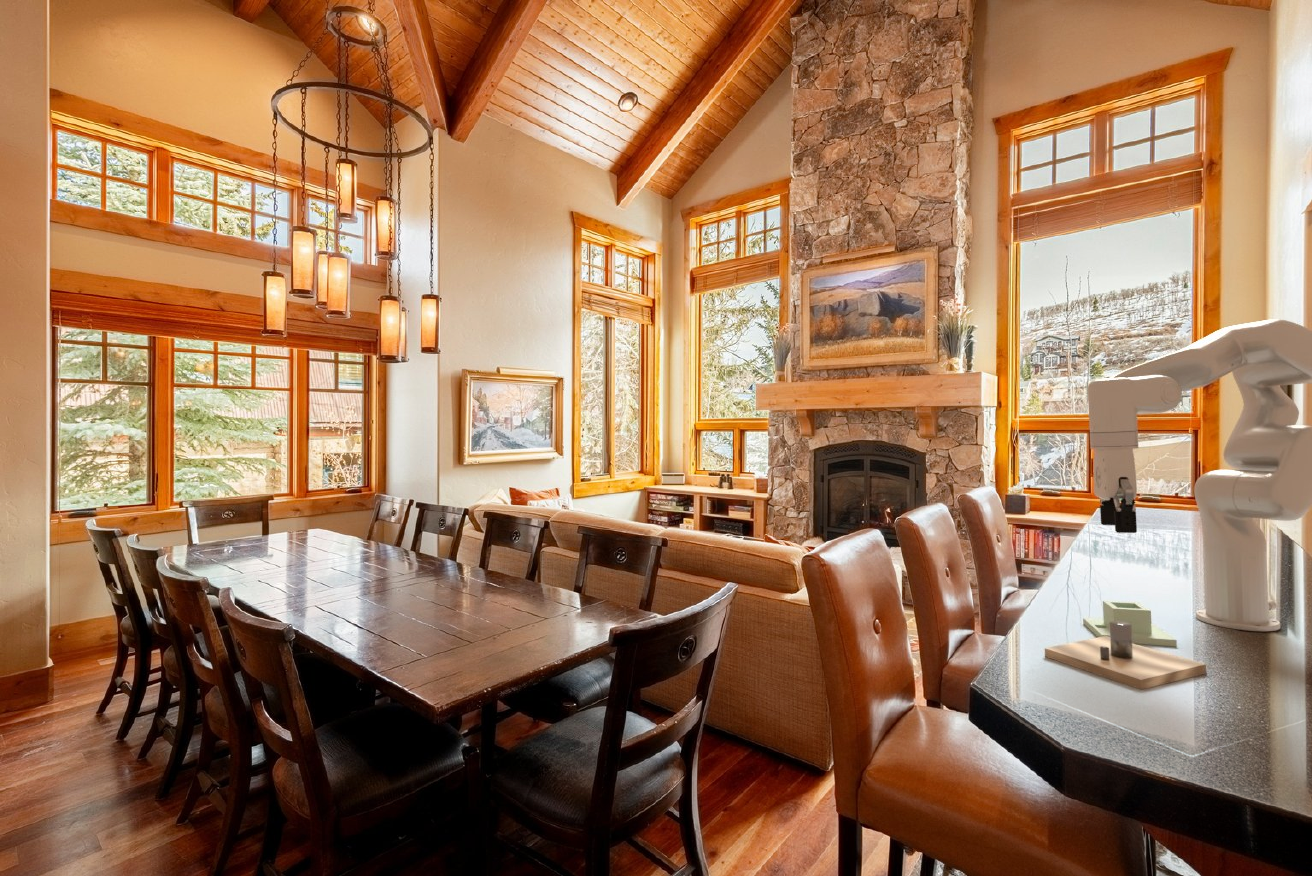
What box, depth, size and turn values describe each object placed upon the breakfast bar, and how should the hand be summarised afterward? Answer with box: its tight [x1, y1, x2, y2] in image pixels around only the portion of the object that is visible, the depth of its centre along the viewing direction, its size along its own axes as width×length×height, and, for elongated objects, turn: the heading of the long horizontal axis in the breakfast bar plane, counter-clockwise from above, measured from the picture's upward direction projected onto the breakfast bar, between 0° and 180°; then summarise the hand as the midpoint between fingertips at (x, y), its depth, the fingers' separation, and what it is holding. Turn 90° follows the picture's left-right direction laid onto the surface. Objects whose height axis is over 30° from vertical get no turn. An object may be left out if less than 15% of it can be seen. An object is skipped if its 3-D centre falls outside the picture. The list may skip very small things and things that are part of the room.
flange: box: [1082, 600, 1178, 647], centre depth 120 cm, size 12×12×6 cm
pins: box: [1100, 621, 1133, 661], centre depth 104 cm, size 6×3×6 cm, turn 110°
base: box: [1044, 636, 1207, 690], centre depth 105 cm, size 16×16×2 cm
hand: (1118, 528), depth 119 cm, fingers open, 9 cm apart
